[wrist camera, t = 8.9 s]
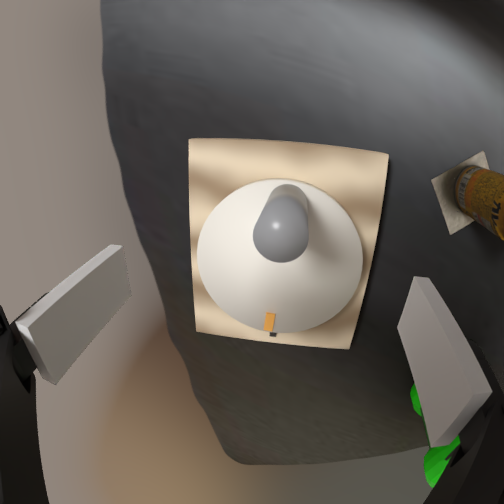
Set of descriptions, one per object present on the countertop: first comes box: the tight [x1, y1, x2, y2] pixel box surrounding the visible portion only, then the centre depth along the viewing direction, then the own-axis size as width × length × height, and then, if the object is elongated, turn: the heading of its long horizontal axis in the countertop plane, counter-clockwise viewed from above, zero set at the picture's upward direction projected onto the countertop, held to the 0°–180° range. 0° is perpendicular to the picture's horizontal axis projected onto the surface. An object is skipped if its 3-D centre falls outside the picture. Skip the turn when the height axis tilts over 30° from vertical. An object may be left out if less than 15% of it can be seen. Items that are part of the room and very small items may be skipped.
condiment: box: [431, 151, 504, 241], centre depth 22 cm, size 7×8×12 cm
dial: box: [197, 178, 363, 333], centre depth 27 cm, size 17×17×11 cm
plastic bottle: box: [410, 383, 460, 488], centre depth 27 cm, size 10×10×25 cm
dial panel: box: [189, 138, 389, 349], centre depth 33 cm, size 24×20×2 cm
